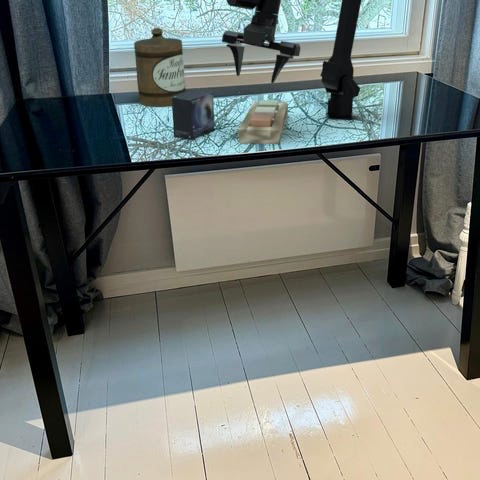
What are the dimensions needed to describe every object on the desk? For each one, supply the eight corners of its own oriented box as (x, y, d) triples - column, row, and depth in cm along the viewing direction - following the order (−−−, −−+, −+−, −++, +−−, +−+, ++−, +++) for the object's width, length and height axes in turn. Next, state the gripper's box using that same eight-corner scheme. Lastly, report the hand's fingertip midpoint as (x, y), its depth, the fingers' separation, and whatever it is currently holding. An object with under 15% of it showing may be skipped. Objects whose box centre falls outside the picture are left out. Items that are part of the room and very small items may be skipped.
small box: (192, 140, 143) (190, 99, 138) (172, 136, 146) (169, 96, 141) (216, 129, 151) (214, 90, 146) (196, 126, 154) (194, 87, 149)
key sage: (278, 109, 158) (278, 100, 157) (276, 113, 154) (276, 104, 152) (260, 108, 159) (260, 99, 158) (258, 113, 154) (258, 104, 153)
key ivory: (275, 116, 151) (275, 107, 150) (273, 121, 147) (273, 112, 146) (257, 116, 152) (256, 106, 151) (254, 121, 148) (254, 111, 147)
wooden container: (166, 109, 170) (160, 32, 159) (129, 103, 177) (121, 30, 166) (195, 98, 181) (191, 26, 170) (159, 93, 188) (153, 23, 177)
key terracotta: (272, 124, 145) (272, 115, 144) (270, 130, 141) (270, 120, 139) (253, 124, 146) (253, 114, 144) (250, 129, 141) (250, 120, 140)
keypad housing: (287, 115, 161) (288, 102, 160) (278, 144, 139) (278, 130, 137) (253, 114, 163) (253, 102, 161) (238, 142, 140) (238, 129, 139)
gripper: (218, 4, 130) (208, 73, 135) (295, 17, 125) (281, 88, 131) (235, 7, 139) (225, 71, 145) (306, 20, 135) (293, 86, 140)
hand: (255, 79), depth 140 cm, fingers open, 9 cm apart
